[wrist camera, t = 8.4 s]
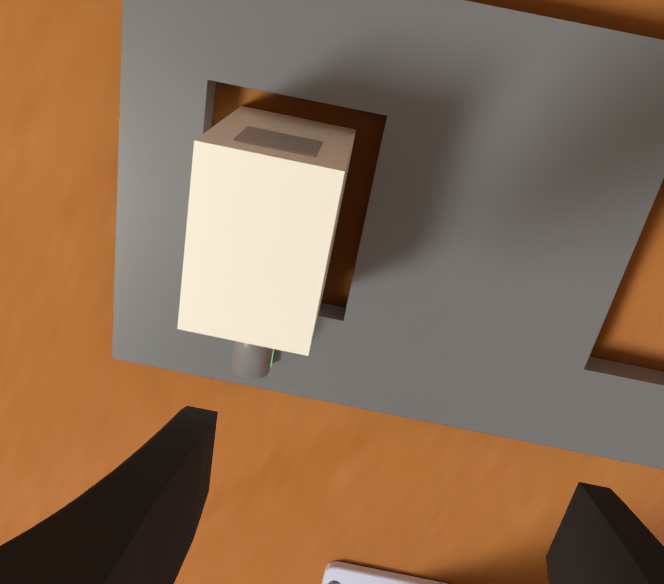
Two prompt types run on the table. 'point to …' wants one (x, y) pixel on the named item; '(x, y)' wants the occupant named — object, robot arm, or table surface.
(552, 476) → the table surface
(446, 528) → the table surface
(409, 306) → the jack panel
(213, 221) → the plug
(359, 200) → the table surface
